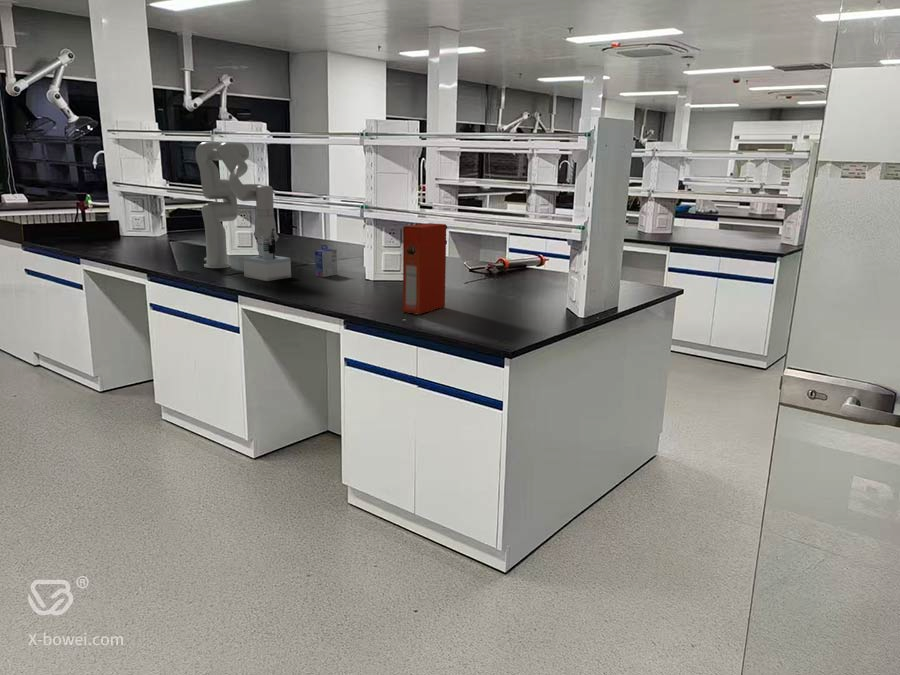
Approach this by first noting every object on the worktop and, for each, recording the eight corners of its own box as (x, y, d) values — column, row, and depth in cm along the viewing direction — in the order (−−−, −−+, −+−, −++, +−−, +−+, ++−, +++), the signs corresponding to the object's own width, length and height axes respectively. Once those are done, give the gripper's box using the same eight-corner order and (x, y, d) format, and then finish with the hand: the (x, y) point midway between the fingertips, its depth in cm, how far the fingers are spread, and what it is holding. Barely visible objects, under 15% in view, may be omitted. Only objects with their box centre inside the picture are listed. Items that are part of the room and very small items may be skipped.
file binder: (402, 312, 254) (403, 226, 246) (427, 304, 269) (428, 222, 260) (420, 315, 250) (422, 227, 242) (444, 307, 265) (447, 224, 256)
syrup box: (263, 268, 312) (262, 236, 308) (258, 266, 317) (257, 234, 313) (275, 267, 315) (274, 235, 312) (270, 265, 320) (269, 234, 316)
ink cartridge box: (329, 273, 331) (329, 243, 327) (338, 274, 328) (337, 244, 324) (314, 276, 323) (314, 245, 320) (323, 277, 320) (322, 246, 317)
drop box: (244, 276, 316) (243, 257, 314) (268, 273, 327) (267, 254, 325) (267, 281, 307) (266, 261, 305) (291, 277, 318) (290, 258, 316)
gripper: (245, 212, 311) (247, 251, 316) (271, 215, 302) (272, 255, 306) (259, 211, 317) (260, 249, 322) (284, 214, 308) (285, 253, 312)
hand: (266, 252), depth 314 cm, fingers closed on syrup box, 7 cm apart
